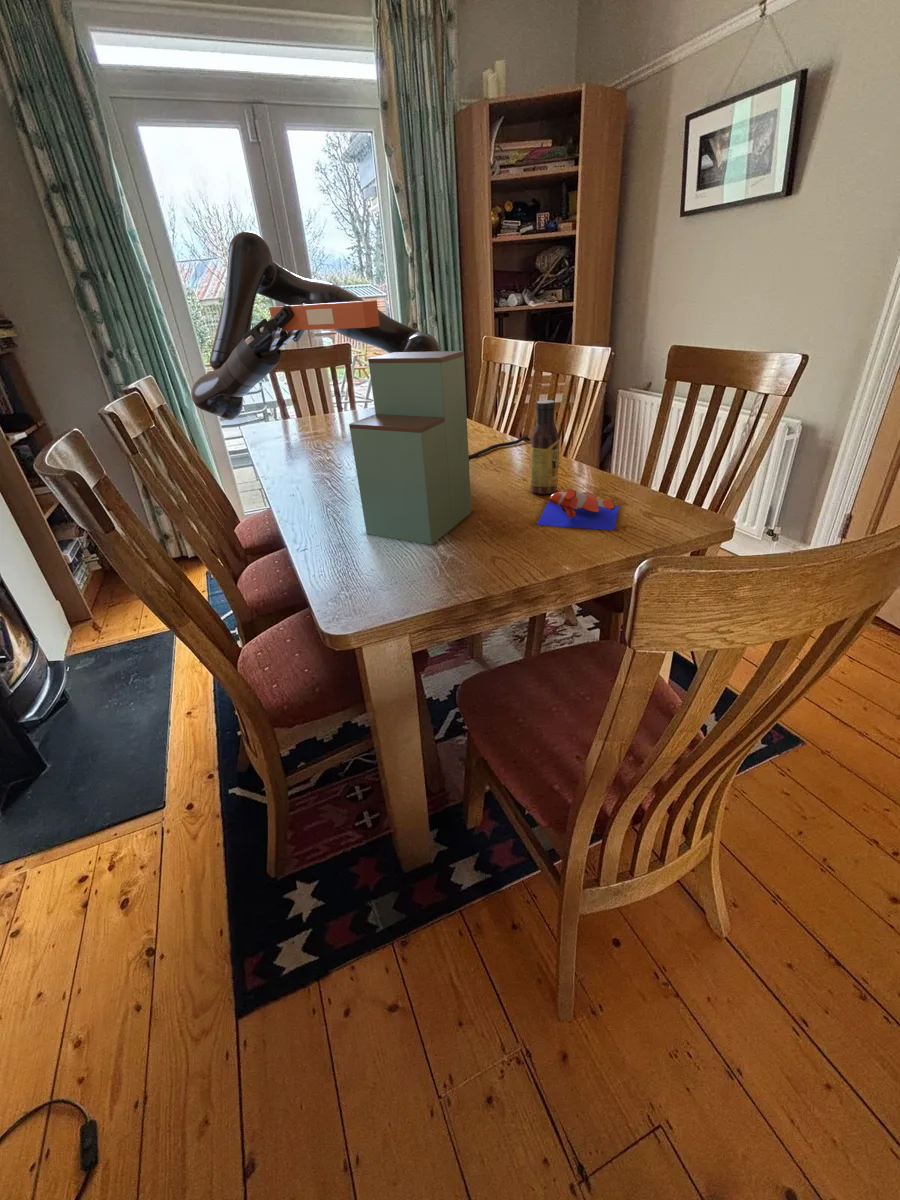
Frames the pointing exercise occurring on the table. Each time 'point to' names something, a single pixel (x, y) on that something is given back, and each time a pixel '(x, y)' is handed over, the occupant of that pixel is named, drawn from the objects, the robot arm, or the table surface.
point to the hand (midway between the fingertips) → (298, 309)
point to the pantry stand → (414, 446)
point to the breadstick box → (331, 315)
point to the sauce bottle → (544, 450)
